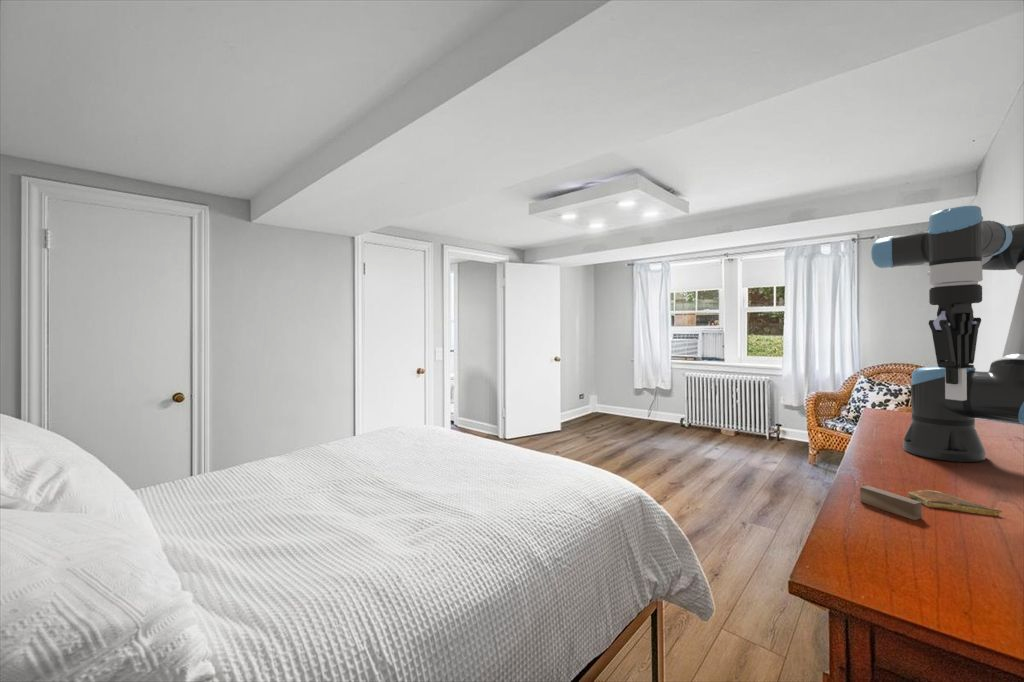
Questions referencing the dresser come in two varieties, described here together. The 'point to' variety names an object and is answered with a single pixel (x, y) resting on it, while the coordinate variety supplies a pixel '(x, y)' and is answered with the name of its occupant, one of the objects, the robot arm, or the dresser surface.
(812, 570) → the dresser surface
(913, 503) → the walnut rail
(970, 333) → the robot arm
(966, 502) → the shard
